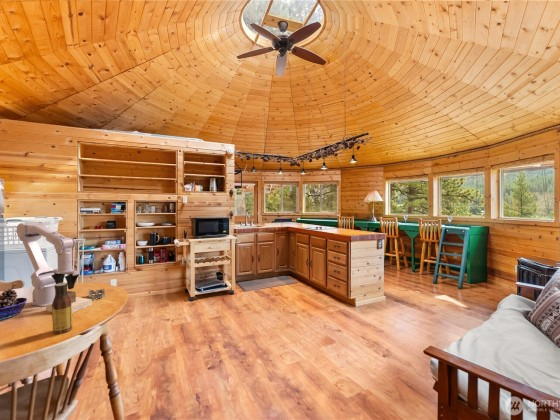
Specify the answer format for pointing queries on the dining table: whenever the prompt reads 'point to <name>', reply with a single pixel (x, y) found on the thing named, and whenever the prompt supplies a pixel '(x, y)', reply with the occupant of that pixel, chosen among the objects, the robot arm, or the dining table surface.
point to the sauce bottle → (61, 310)
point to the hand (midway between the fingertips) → (65, 288)
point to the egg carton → (96, 294)
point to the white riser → (75, 304)
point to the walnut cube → (72, 296)
